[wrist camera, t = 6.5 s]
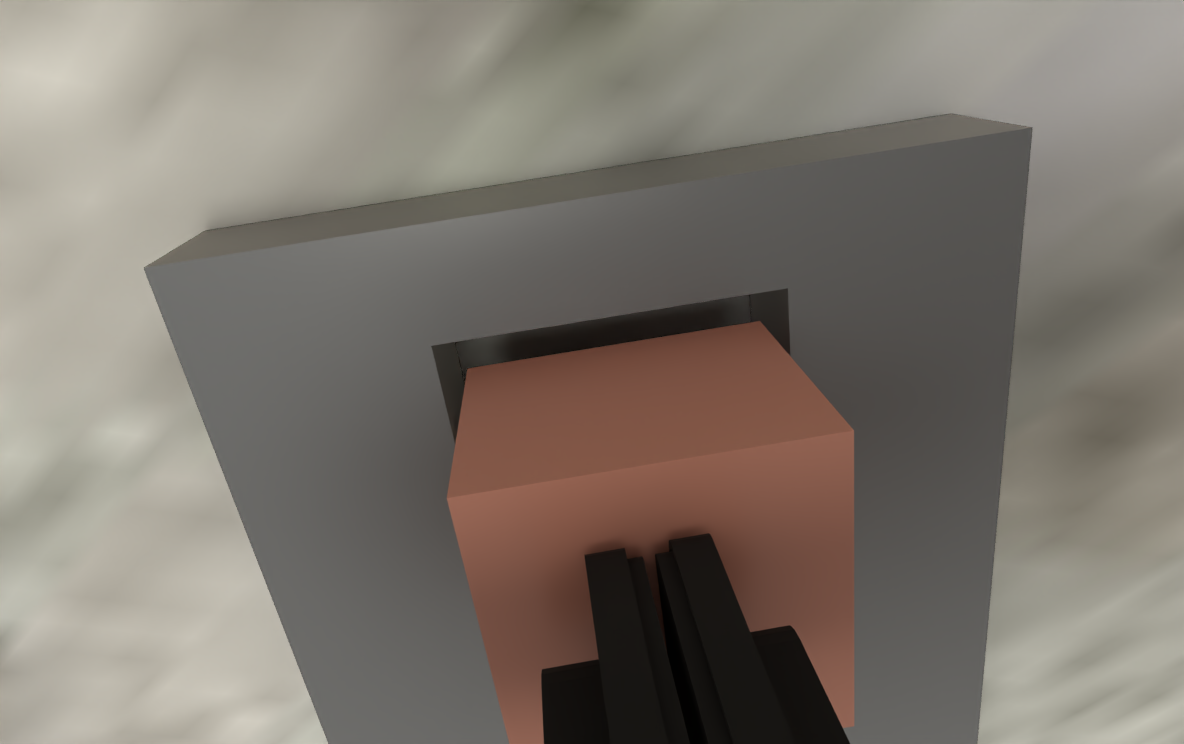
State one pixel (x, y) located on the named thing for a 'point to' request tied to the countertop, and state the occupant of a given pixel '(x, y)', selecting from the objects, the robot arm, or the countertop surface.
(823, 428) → the brick key
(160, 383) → the countertop surface
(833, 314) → the slotted grey plate
